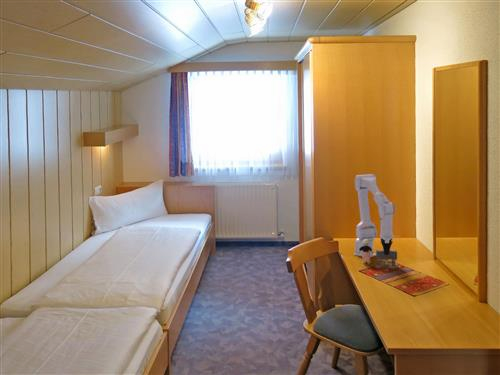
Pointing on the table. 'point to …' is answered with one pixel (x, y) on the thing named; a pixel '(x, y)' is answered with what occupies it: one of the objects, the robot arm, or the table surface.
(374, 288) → the table surface
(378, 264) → the stand
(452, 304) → the table surface
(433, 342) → the table surface
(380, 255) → the bar
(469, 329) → the table surface
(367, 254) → the grandmother figurine
